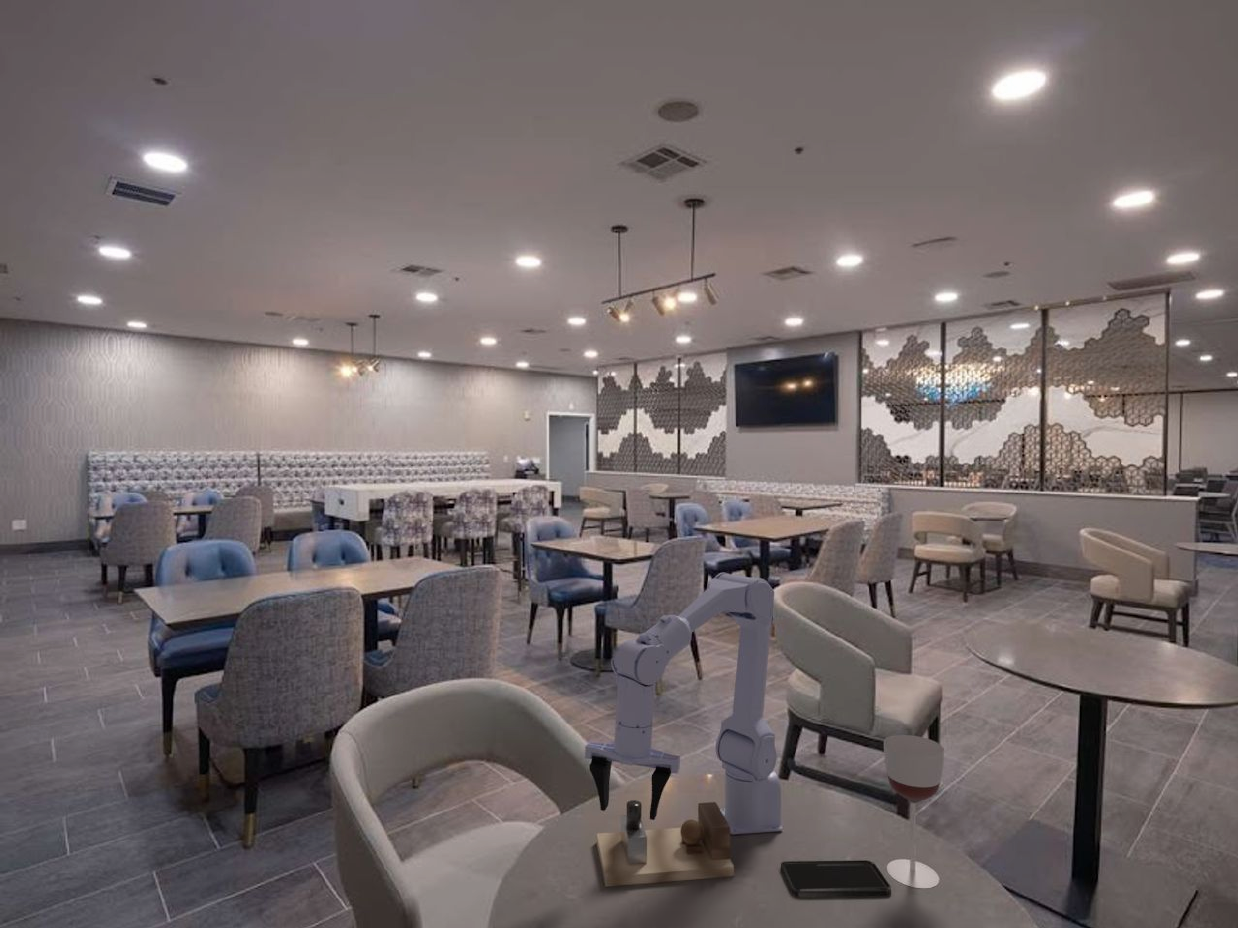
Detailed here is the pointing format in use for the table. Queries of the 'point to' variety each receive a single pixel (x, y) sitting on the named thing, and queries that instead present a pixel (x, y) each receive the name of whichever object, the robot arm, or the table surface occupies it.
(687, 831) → the walnut
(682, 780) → the table surface
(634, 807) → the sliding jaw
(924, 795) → the wineglass
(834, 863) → the phone
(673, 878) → the base
